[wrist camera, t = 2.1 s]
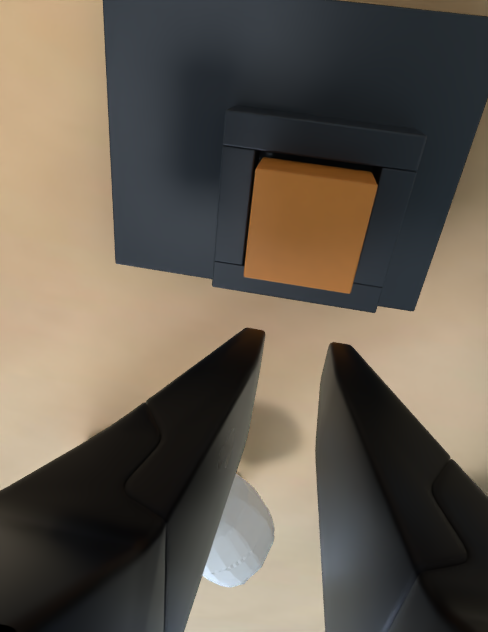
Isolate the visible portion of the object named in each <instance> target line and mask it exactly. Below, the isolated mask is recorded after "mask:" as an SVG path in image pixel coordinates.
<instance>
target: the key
mask: <svg viewBox="0 0 488 632" xmlns="http://www.w3.org/2000/svg"><path fill="white" fill-rule="evenodd" d="M377 188H378V185H377V183H376V181H375V178H374V176H373V174H372V172H370V171H362V170H355V169H348V168H341V167H333V166H326V165H319V164H312V163H304V162H297V161H290V160H283V159H275V158H268V157H263V158H262V160H261V161H260V163H259V164H258V166H257V168H256V169H255V178H254V187H253V196H252V204H251V213H250V222H249V231H248V240H247V249H246V258H245V266H244V277H247V278H253V279H260V280H266V281H272V282H278V283H285V284H291V285H297V286H303V287H310V288H316V289H322V290H328V291H335V292H341V293H347V294H350V293H351V289H352V286H353V282H354V278H355V274H356V270H357V266H358V262H359V258H360V254H361V250H362V246H363V242H364V239H365V235H366V231H367V227H368V223H369V219H370V215H371V211H372V207H373V203H374V199H375V195H376V192H377Z"/></svg>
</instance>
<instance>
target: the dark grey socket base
mask: <svg viewBox="0 0 488 632" xmlns="http://www.w3.org/2000/svg"><path fill="white" fill-rule="evenodd" d="M103 15H104V35H105V56H106V76H107V97H108V117H109V137H110V158H111V178H112V199H113V219H114V239H115V260H116V264H122V265H128V266H134V267H140V268H147V269H153V270H159V271H165V272H171V273H178V274H184V275H190V276H196V277H202V278H209V279H213V281H212V286H213V287H218V288H224V289H231V290H237V291H243V292H249V293H255V294H261V295H267V296H274V297H280V298H286V299H292V300H298V301H304V302H310V303H317V304H323V305H329V306H335V307H341V308H347V309H353V310H360V311H366V312H372V313H375V312H376V309H377V306H382V307H388V308H394V309H401V310H407V311H414V310H415V307H416V304H417V301H418V298H419V295H420V292H421V289H422V287H423V284H424V281H425V278H426V275H427V272H428V269H429V266H430V263H431V261H432V258H433V255H434V252H435V249H436V246H437V243H438V240H439V237H440V235H441V232H442V229H443V226H444V223H445V220H446V217H447V214H448V211H449V208H450V206H451V203H452V200H453V197H454V194H455V191H456V188H457V185H458V182H459V180H460V177H461V174H462V171H463V168H464V165H465V162H466V159H467V156H468V154H469V151H470V148H471V145H472V142H473V139H474V136H475V133H476V130H477V128H478V125H479V122H480V119H481V116H482V113H483V110H484V107H485V104H486V102H487V99H488V17H487V16H478V15H468V14H459V13H450V12H441V11H431V10H422V9H413V8H404V7H394V6H385V5H376V4H366V3H357V2H348V1H339V0H103ZM263 157H268V158H275V159H283V160H290V161H297V162H304V163H312V164H319V165H326V166H333V167H341V168H348V169H355V170H362V171H370V172H372V174H373V176H374V178H375V181H376V183H377V185H378V188H377V192H376V195H375V199H374V203H373V207H372V211H371V215H370V219H369V223H368V227H367V231H366V235H365V239H364V242H363V246H362V250H361V254H360V258H359V262H358V266H357V270H356V274H355V278H354V282H353V286H352V289H351V293H350V294H347V293H341V292H335V291H328V290H322V289H316V288H310V287H303V286H297V285H291V284H285V283H278V282H272V281H266V280H260V279H253V278H247V277H244V266H245V258H246V249H247V240H248V231H249V222H250V213H251V204H252V196H253V187H254V178H255V169H256V168H257V166H258V164H259V163H260V161H261V160H262V158H263Z"/></svg>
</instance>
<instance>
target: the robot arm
mask: <svg viewBox="0 0 488 632" xmlns="http://www.w3.org/2000/svg"><path fill="white" fill-rule="evenodd" d="M264 341H265V332H264V331H263V330H258V329H252V328H245V329H243V330H242V331H240V332H239V333H238V334H236V335H235V336H234V337H232V338H231V339H230V340H228V341H227V342H225V343H224V344H223V345H221V346H220V347H219V348H217V349H216V350H215V351H213V352H212V353H211V354H209V355H208V356H206V357H205V358H204V359H202V360H201V361H200V362H198V363H197V364H196V365H194V366H193V367H191V368H190V369H189V370H187V371H186V372H185V373H183V374H182V375H181V376H179V377H178V378H177V379H175V380H174V381H172V382H171V383H170V384H168V385H167V386H166V387H164V388H163V389H162V390H160V391H159V392H157V393H156V394H155V395H153V396H152V397H151V398H149V399H148V400H147V401H146V403H142V404H141V405H140V406H138V407H137V408H135V409H134V410H133V411H131V412H130V413H129V414H127V415H126V416H124V417H123V418H121V419H120V420H118V421H117V422H116V423H114V424H113V425H111V426H110V427H108V428H107V429H105V430H103V431H102V432H100V433H99V434H97V435H95V436H94V437H92V438H90V439H89V440H87V441H86V442H84V443H82V444H81V445H79V446H77V447H75V448H74V449H72V450H70V451H69V452H67V453H65V454H63V455H62V456H60V457H58V458H57V459H55V460H53V461H51V462H50V463H48V464H46V465H44V466H43V467H41V468H39V469H38V470H36V471H34V472H32V473H31V474H29V475H27V476H25V477H24V478H22V479H20V480H19V481H17V482H15V483H13V484H12V485H10V486H8V487H6V488H4V489H3V490H1V491H0V632H184V630H185V627H186V624H187V621H188V618H189V614H190V611H191V608H192V605H193V602H194V599H195V596H196V593H197V590H198V587H199V584H200V581H201V578H202V575H203V572H204V569H205V566H206V563H207V560H208V557H209V554H210V551H211V548H212V544H213V541H214V538H215V535H216V532H217V529H218V526H219V523H220V520H221V517H222V514H223V511H224V508H225V505H226V502H227V499H228V496H229V493H230V490H231V487H232V484H233V481H234V477H235V474H236V471H237V468H238V465H239V462H240V459H241V456H242V453H243V450H244V447H245V444H246V440H247V437H248V432H249V427H250V422H251V417H252V411H253V406H254V400H255V395H256V389H257V384H258V379H259V373H260V367H261V361H262V354H263V347H264ZM315 453H316V476H317V494H318V511H319V529H320V547H321V564H322V582H323V600H324V617H325V632H488V497H487V496H486V495H485V494H484V493H483V491H482V490H481V489H480V488H479V487H478V486H477V485H476V484H475V483H474V482H473V481H472V480H471V479H470V478H469V476H468V475H467V474H466V473H465V472H464V471H463V470H462V469H461V468H460V466H459V465H458V464H457V463H456V462H455V461H454V460H452V459H450V455H449V454H448V453H447V452H446V451H445V450H444V449H443V448H442V447H441V445H440V444H439V443H438V442H437V441H436V440H435V439H434V438H433V436H432V435H431V434H430V433H429V432H428V431H427V430H426V429H425V427H424V426H423V425H422V424H421V423H420V422H419V421H418V420H417V419H416V417H415V416H414V415H413V414H412V413H411V412H410V411H409V410H408V408H407V407H406V406H405V405H404V404H403V403H402V402H401V401H400V399H399V398H398V397H397V396H396V395H395V394H394V393H393V392H392V391H391V389H390V388H389V387H388V386H387V385H386V384H385V383H384V382H383V380H382V379H381V378H380V377H379V376H378V375H377V374H376V373H375V372H374V370H373V369H372V368H371V367H370V366H369V365H368V364H367V363H366V361H365V360H364V359H363V358H362V357H361V356H360V355H359V354H358V352H357V351H356V350H355V349H354V348H353V347H352V346H351V345H348V344H342V343H336V342H332V343H330V345H329V347H328V351H327V355H326V359H325V363H324V367H323V372H322V376H321V382H320V392H319V405H318V418H317V431H316V449H315Z"/></svg>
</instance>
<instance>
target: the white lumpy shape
mask: <svg viewBox="0 0 488 632" xmlns="http://www.w3.org/2000/svg"><path fill="white" fill-rule="evenodd" d="M273 541H274V524H273V519H272V516H271V514H270V512H269V509H268V508H267V507H266V505H265V504H264V502H263V500H262V499H261V497H260V495H259V494H258V492H257V491H256V490H255V488H254V487H253V486H252V485H250V484H249V483H248V482H247V481H246V480H245V479H243V478H242V477H241V476H239V475H238V474H235V477H234V481H233V484H232V487H231V490H230V493H229V496H228V499H227V502H226V505H225V508H224V511H223V514H222V517H221V520H220V523H219V526H218V529H217V532H216V535H215V538H214V541H213V544H212V548H211V551H210V554H209V557H208V560H207V563H206V566H205V569H204V572H203V575H202V576H204V577H205V578H207V579H208V580H210V581H212V582H214V583H216V584H218V585H221V586H225V587H234V586H237V585H240V584H244V583H245V582H246V581H247V580H248V579H249V578H250V577H251V576H252V575H254V574H255V573H256V572H257V571H258V570H259V569H260V568H261V567H262V565H263V563H264V561H265V559H266V556H267V554H268V552H269V550H270V548H271V546H272V544H273Z"/></svg>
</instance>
